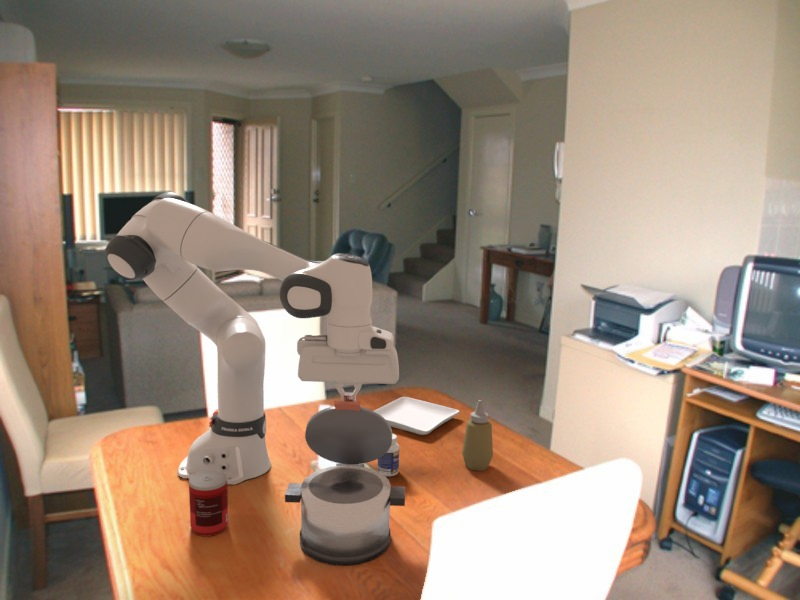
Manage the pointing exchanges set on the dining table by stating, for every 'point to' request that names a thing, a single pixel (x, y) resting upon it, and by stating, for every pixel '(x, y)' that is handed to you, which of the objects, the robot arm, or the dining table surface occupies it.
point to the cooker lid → (348, 434)
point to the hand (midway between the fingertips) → (348, 402)
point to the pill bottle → (390, 460)
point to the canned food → (208, 502)
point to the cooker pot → (345, 513)
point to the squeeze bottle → (478, 440)
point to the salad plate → (415, 415)
